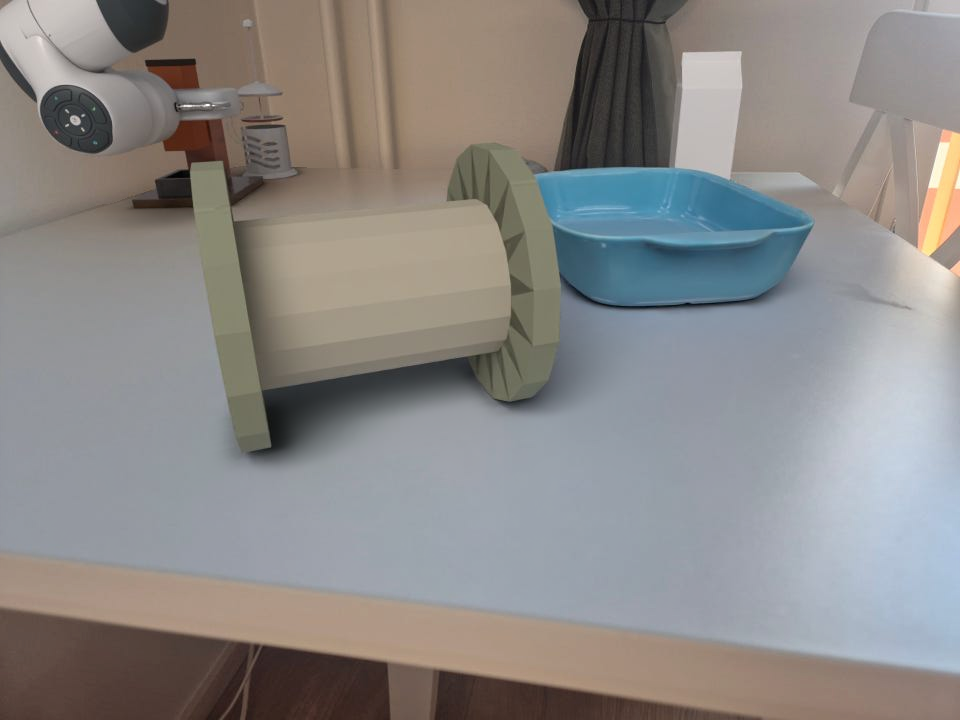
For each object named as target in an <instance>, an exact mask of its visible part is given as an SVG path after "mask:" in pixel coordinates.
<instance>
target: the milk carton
mask: <svg viewBox="0 0 960 720" xmlns="http://www.w3.org/2000/svg"><path fill="white" fill-rule="evenodd" d="M742 55H743V51H738V50H737V51H736V50H735V51H734V50H733V51H731V50H730V51H691V52H690V51H685V52H684V51H683V52H682V56H681V63H680V67H679V72H678V75H677V80H676V81H677V82H676V86H675V87H676V89H675V98H674V107H673V109H674V110H673V119H672V127H671V128H672V129H671V130H672V131H671V139H670V140H671V141H670V151H669V160H668V168H683V169H692V170H699V171H703V172H708V173H711V174H714V175H717V176H720V177H723V178H725V179H728V180H731V178H732V177H731V175H732V168H733V161H734V154H735V146H736V138H737V131H738V124H739V116H740V109H741V101H742V93H743V74H742Z"/></svg>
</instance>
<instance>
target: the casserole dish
mask: <svg viewBox="0 0 960 720" xmlns="http://www.w3.org/2000/svg"><path fill="white" fill-rule="evenodd" d="M534 176H535V178H536V180H537V183H538V186H539V189H540V192H541V195H542V198H543V201H544V204H545V207H546V210H547V212H548V215H549V218H550V221H551V224H552V227H553V233H554V240H555V248H556V255H557V262H558V269H559V274H561V276H562V277H563V278H564V279H565V280H566V282H568V283H569V285H571V286H572V287H573V288H574V289H576V290H577V291H579V292H580V293H581V294H582V295H584V296H585V297H587V298H589V299H591V300H592V301H595V302H598V303H601V304H604V305H610V306H622V307H625V306H626V307H646V306H647V307H649V306H674V305H675V306H676V305H683V304H686V303H689V304H709V303H710V304H711V303H726V302H735V301H745V300H751V299H755V298H757V297H760V296H761V295H762V294H764V293H766V292H768V291H769V290H771V289H773V287H775V286H777V285H778V284H779V283H780V282H781V281H782V280H783V279H784V278H785V277H786V275H787V274H788V272H789V271H790V269H791V268H792V266H793V265H794V262H795V261H796V259H797V257H798V255H799V253H800V251H801V250H802V248H803V246H804V244H805V242H806V240H807V239H808V236H809V235H810V233H811V231H812V230H813V228H814V226H815V220H814V218H813V216H812V215H810V214H809V213H807V212H806V211H804V210H802V209H799V208H797V207H795V206H793V205H791V204H788V203H786V202H783V201H781V200H779V199H777V198H774V197H771V196H769V195H766V194H764V193H762V192H760V191H757V190H755V189H752V188H750V187H747V186H745V185H742V184H739V183H737V182H735V181H733V180H731V179H730V180H728V179H725V178H723V177H720V176H717V175H714V174H711V173H708V172H703V171H699V170H692V169H683V168H669V167H646V166H645V167H643V166H642V167H639V166H615V167H614V166H613V167H591V168H575V169H573V168H572V169H567V170H566V169H565V170H559V171H549V172H546V173H540V174H534Z"/></svg>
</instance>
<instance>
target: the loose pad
mask: <svg viewBox="0 0 960 720" xmlns="http://www.w3.org/2000/svg"><path fill="white" fill-rule="evenodd" d="M144 64H145V67H147V71H148V72H151V73H153V74H155V75H157V76H159V77H160V78H162V79H163V80H164V81H165V82H166V83H167V84H168V85H169V86H170V87H171V88H172V89H191V88H201V87H200V83H199V81H200V80H199V76H198V71H197V66H196V65H197V60H196V58H165V59H164V58H163V59H162V58H161V59H144ZM162 144H163V150H164V152H185V151H196V150H199V149H201V148H204V147H207V146H209V145H210V142H209V136H208V131H207V125H206V120H193V121H179V125H178V127H177V129H176V131H175V132H174V134H173V135H172V136H171V137H169V138H168V139H166V140H164V141H162Z"/></svg>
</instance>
